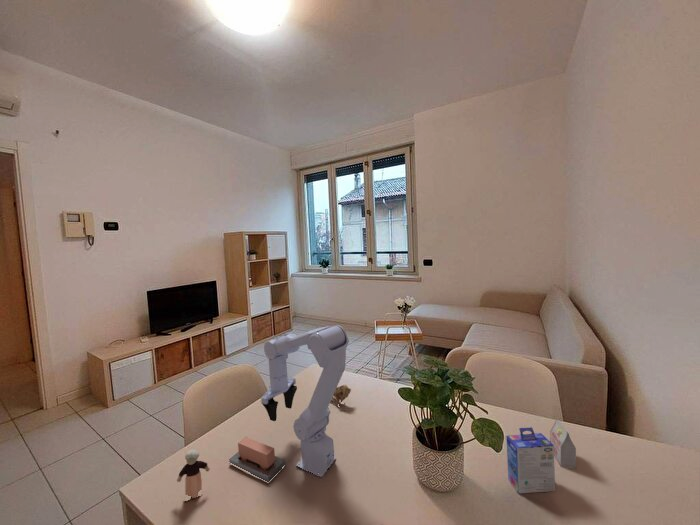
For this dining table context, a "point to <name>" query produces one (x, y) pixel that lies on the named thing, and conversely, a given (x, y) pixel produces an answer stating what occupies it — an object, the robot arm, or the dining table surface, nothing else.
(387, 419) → the dining table surface
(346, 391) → the lion figurine
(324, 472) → the robot arm
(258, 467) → the slotted metal plate
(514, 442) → the ink cartridge box
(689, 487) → the dining table surface
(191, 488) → the grandmother figurine
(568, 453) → the white gable-top carton
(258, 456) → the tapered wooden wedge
